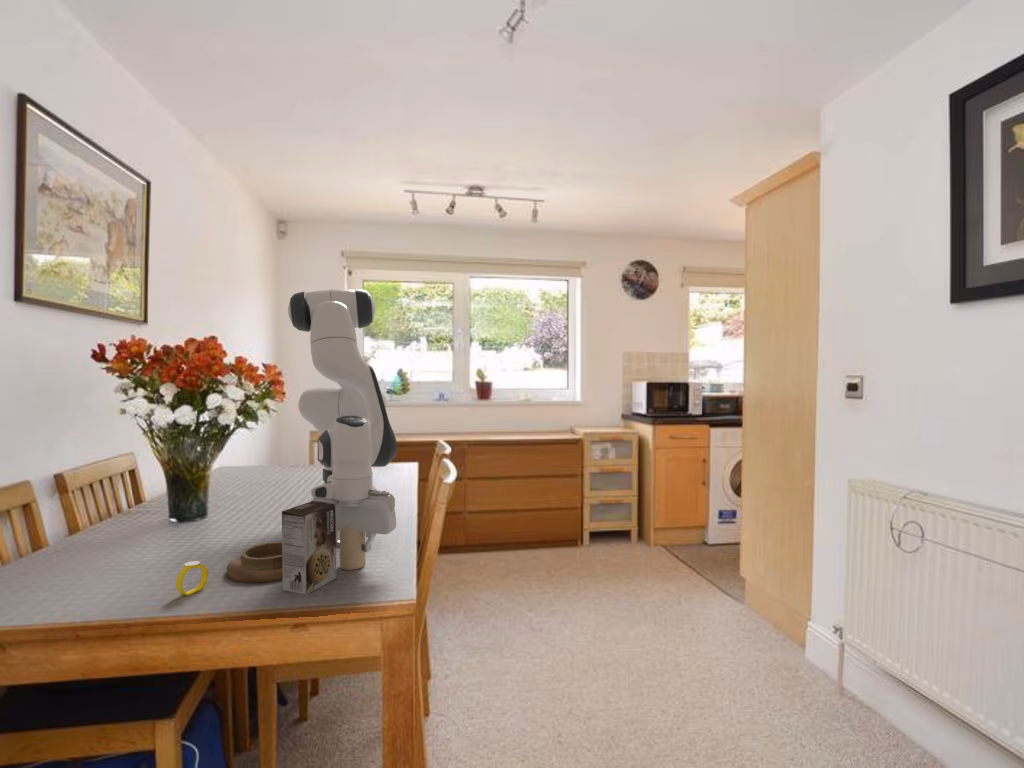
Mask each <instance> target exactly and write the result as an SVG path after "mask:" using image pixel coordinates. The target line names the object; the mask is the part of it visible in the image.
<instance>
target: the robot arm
mask: <svg viewBox="0 0 1024 768" xmlns="http://www.w3.org/2000/svg"><path fill="white" fill-rule="evenodd" d="M287 314H288V318H289V321H290V322H291V323H292V326H293V327H294V328H295V329H297V331H302V332H306V333H310V335H309V336H310V338H309V340H310V355H311V359H312V363H313V367H314V368H315V369H316V371H318V373H319V374H321V375H322V376H323V377H324V378H326V379H328V380H330V381H332V382H335V383H337V384H338V385H339V386H318V387H311V388H307V389H305V390H303V392H302V393H301V395H300V397H299V399H298V404H297V405H298V411H299V413H300V415H301V417H302V418H303V419H304V420H305V421H306V422H308V423H309V424H311V425H312V427H314V429H315V430H316V431H317V434H318V435H319V437H318V438H317V461H318V462H319V464H321V465H322V466H324V467H323V468H322V473H321V476H322V481H323V483H322V484H319V485H317V486H315V487H313V488H311V489H310V490H311V491H310V495H311V497H312V499H311V501H319V502H326V503H330V504H335V515H336V550H340V529H342V528H344V527H346V526H350V527H352V528H353V529H355V530H356V531H357V532H364V533H365V538H367V539H366V540H365V543H363V544H361V547H362V549H361V551H362V552H365V553H369V552H371V550H372V543H373V541H374V539H375V537H376V536H377V535H378V534H379V535H389V534H390V533H393V532H394V530H395V529H396V528H397V517H396V511H395V510H396V508H395V507H396V498H395V496H394V495H393V494H392V493H390V492H389V491H388V490H383V491H382V490H377V487H376V486H375V485H374V483H373V482H374V481H373V480H374V479H373V470H372V467H373V468H374V467H375V468H377V467H378V468H379V467H381V468H382V467H383V468H384V467H386V466H387V465H389V464H390V463H391V461H392V460H394V458H395V457H396V455H397V452H398V443H397V439H396V435H395V432H394V430H393V428H392V425H391V423H390V421H389V419H390V418H389V417H388V412H387V400H386V397H385V394H384V393H383V391H382V390H381V388H380V384H379V381H378V378H377V374H376V372H375V370H374V368H373V366H372V365H371V364H369V363H368V362H366V361H365V359H364V358H363V356H362V355H361V353H360V351H359V347H358V341H357V333H356V332H357V331H356V328H358V329H363V328H366V327H369V326H370V325H371V324H372V323H373V322H374V318H375V314H376V306H375V302H374V299H373V298H372V296H371V293H369V291H367V290H365V289H360V288H359V289H358V288H355V289H345V288H330V289H323V290H320V289H319V290H312V291H307V292H306V291H301V292H296V293H294V294H293V295H291V297H290V298H289V303H288V306H287ZM311 501H310V502H311Z"/></svg>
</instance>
